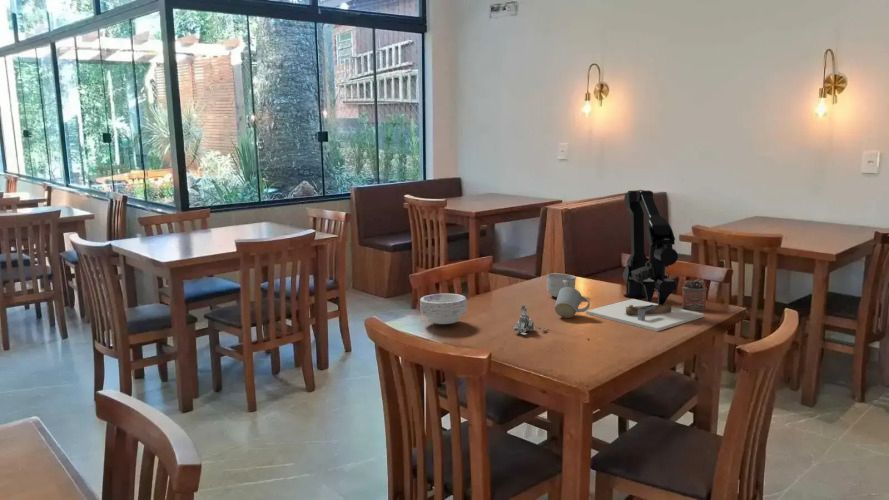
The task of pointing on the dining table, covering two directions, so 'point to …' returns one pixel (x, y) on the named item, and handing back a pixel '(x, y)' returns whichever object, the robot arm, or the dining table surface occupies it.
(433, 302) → the white speckled bowl
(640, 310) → the keeper
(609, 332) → the dining table surface
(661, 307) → the link
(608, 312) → the pivot board
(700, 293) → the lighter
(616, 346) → the dining table surface
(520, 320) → the grey irregular piece
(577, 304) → the ceramic mug
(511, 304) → the dining table surface
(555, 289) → the teacup
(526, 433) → the salt and pepper shakers
